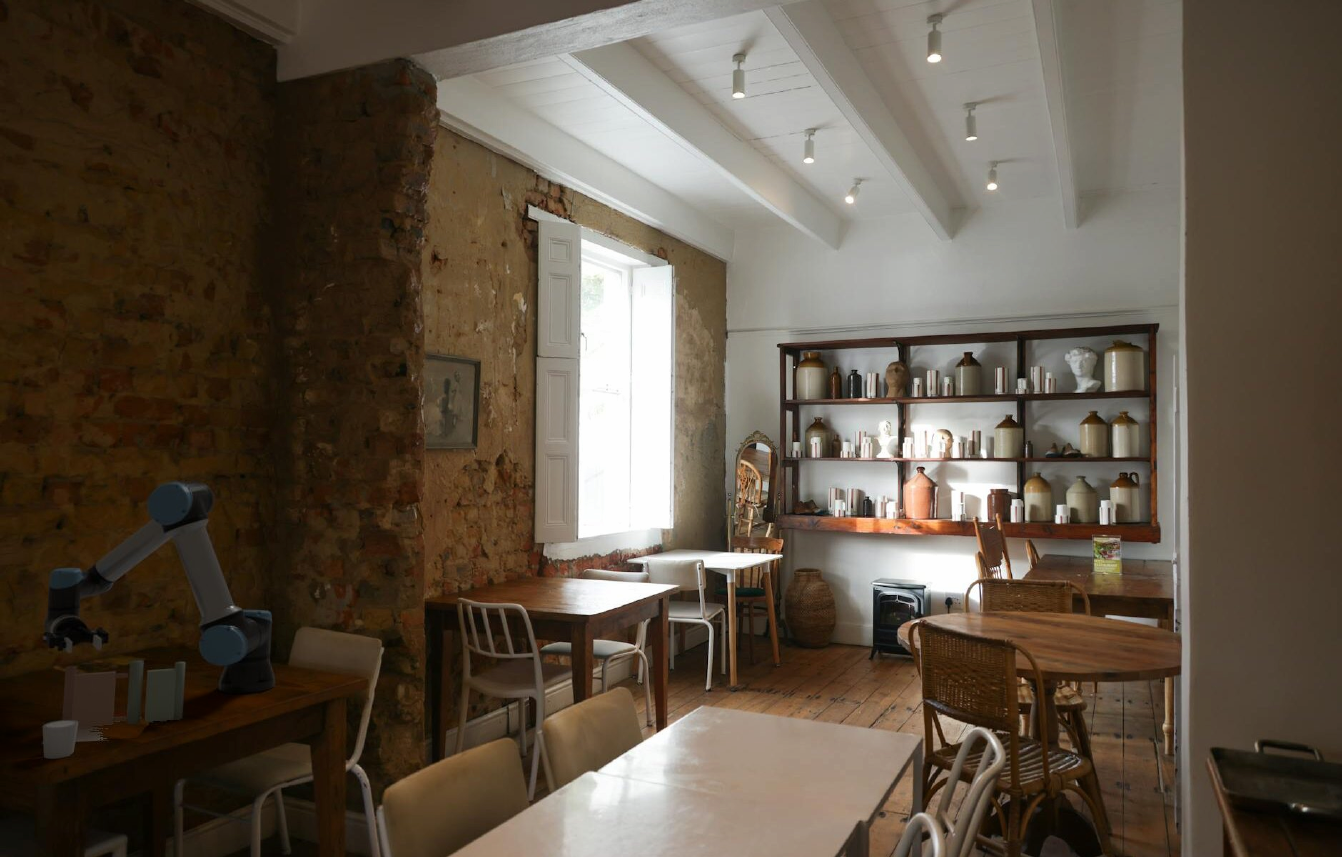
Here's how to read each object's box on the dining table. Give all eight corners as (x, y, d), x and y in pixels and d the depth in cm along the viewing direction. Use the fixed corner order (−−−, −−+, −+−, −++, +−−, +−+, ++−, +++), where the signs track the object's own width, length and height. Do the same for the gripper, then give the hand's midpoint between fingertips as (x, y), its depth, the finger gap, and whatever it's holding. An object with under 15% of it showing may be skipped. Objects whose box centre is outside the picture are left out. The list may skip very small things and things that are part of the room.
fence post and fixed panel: (125, 726, 224) (129, 663, 224) (126, 723, 226) (130, 660, 227) (182, 721, 229) (185, 659, 230) (182, 718, 232) (185, 657, 233)
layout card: (156, 718, 232) (156, 716, 232) (137, 739, 215) (137, 738, 215) (67, 722, 226) (67, 720, 226) (41, 744, 208) (41, 743, 208)
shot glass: (80, 755, 203) (82, 724, 203) (44, 761, 198) (46, 730, 198) (71, 747, 207) (73, 717, 208) (36, 754, 202) (38, 723, 203)
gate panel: (125, 721, 226) (128, 662, 226) (124, 723, 224) (128, 664, 224) (62, 726, 220) (66, 666, 220) (61, 729, 218) (64, 668, 218)
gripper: (107, 640, 247) (126, 656, 230) (26, 648, 235) (39, 665, 218) (109, 613, 248) (128, 627, 231) (27, 620, 235) (41, 635, 218)
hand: (85, 646), depth 224 cm, fingers open, 6 cm apart
